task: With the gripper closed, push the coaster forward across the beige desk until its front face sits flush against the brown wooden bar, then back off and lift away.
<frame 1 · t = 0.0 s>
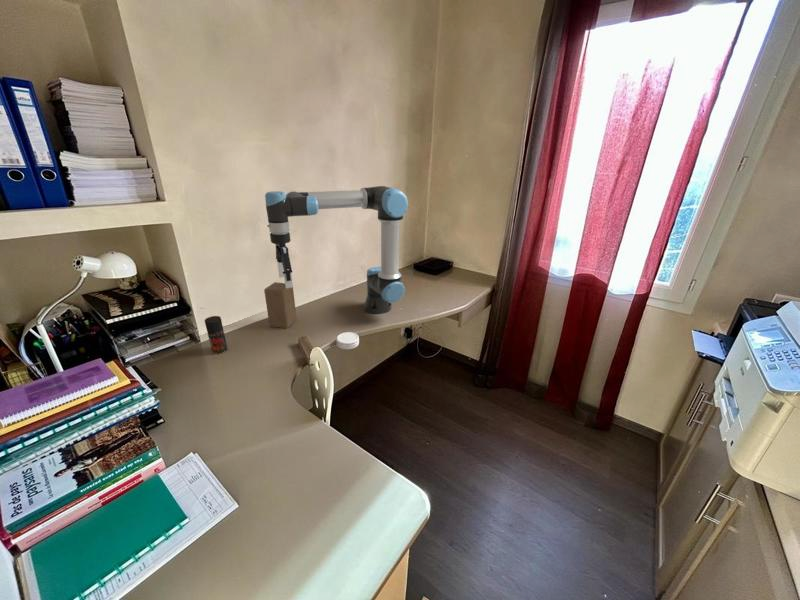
hand: (285, 282, 143), 28 cm above the table, fingers open, 13 cm apart
deodorant: (219, 350, 144), on the table
brown wooden bar: (308, 353, 144), on the table
coaster: (347, 344, 152), on the table
wooden block: (283, 323, 168), on the table
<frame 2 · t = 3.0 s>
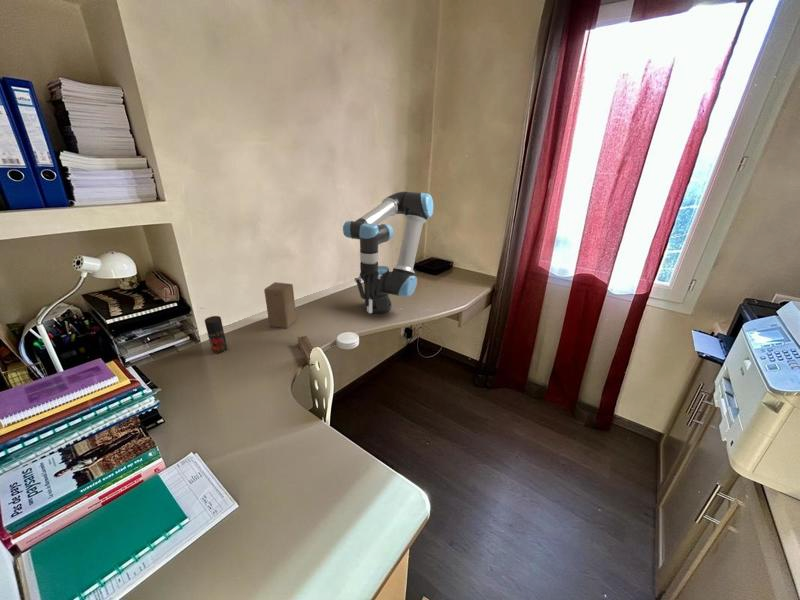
hand: (369, 311, 151), 14 cm above the table, fingers closed
nothing on the table moved.
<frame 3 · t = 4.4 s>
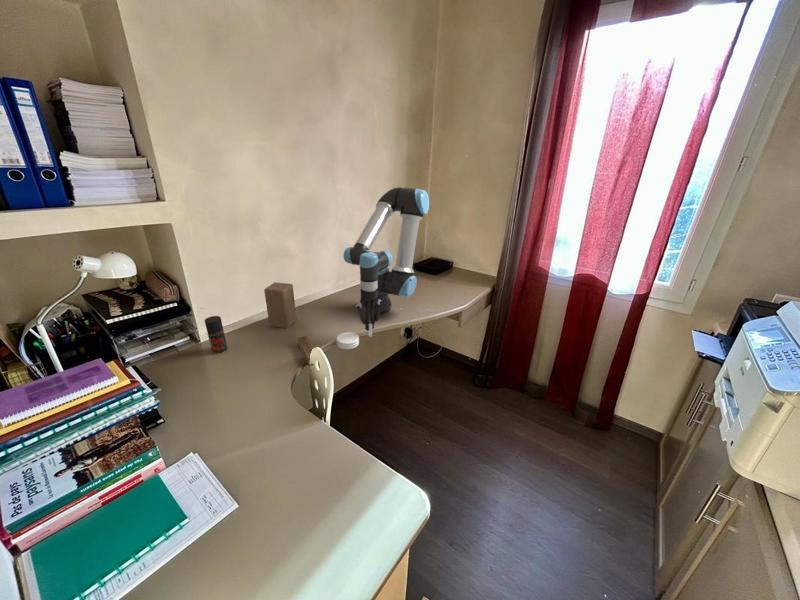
hand: (369, 335, 156), 1 cm above the table, fingers closed
nothing on the table moved.
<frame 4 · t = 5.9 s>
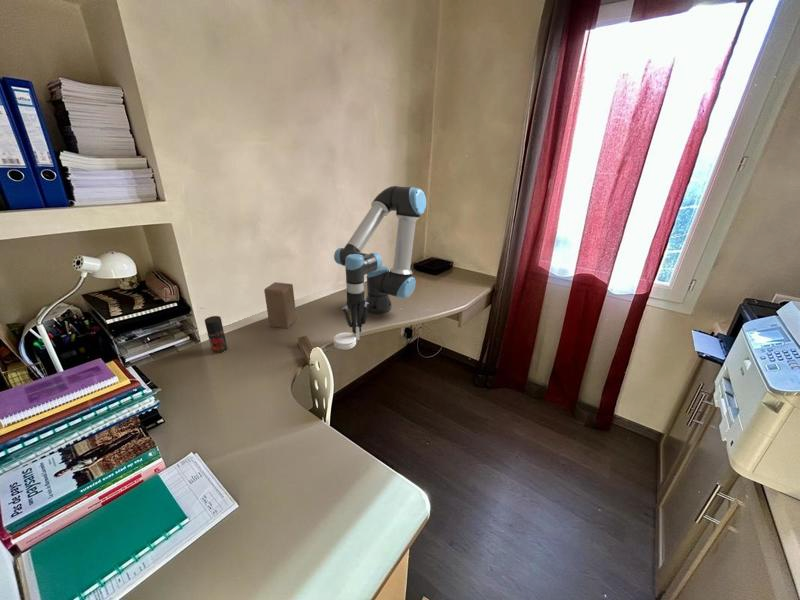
hand: (356, 338, 153), 2 cm above the table, fingers closed
coaster: (345, 344, 151), on the table, touching gripper
everything else where it was.
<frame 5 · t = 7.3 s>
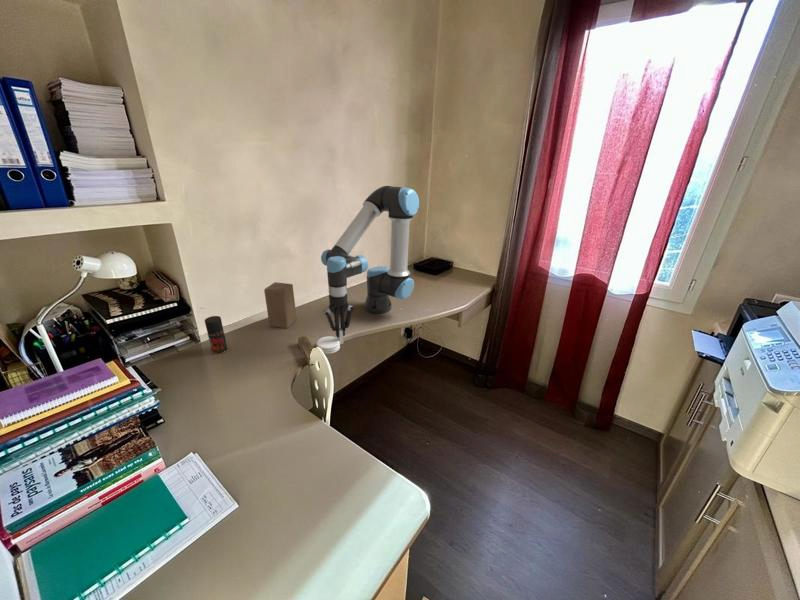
hand: (340, 342, 150), 1 cm above the table, fingers closed
coaster: (328, 348, 148), on the table, touching gripper
everything else where it was.
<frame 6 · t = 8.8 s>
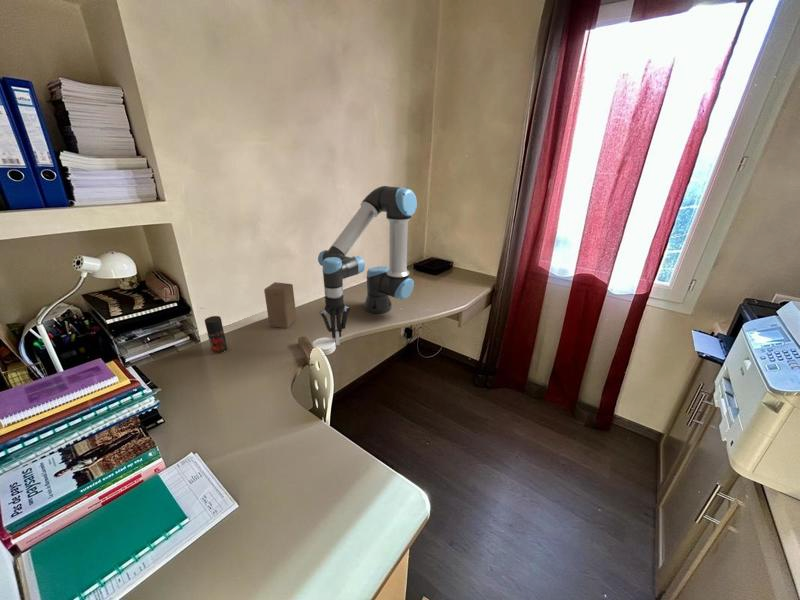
hand: (337, 343, 149), 1 cm above the table, fingers closed
coaster: (324, 350, 147), on the table
everything else where it was.
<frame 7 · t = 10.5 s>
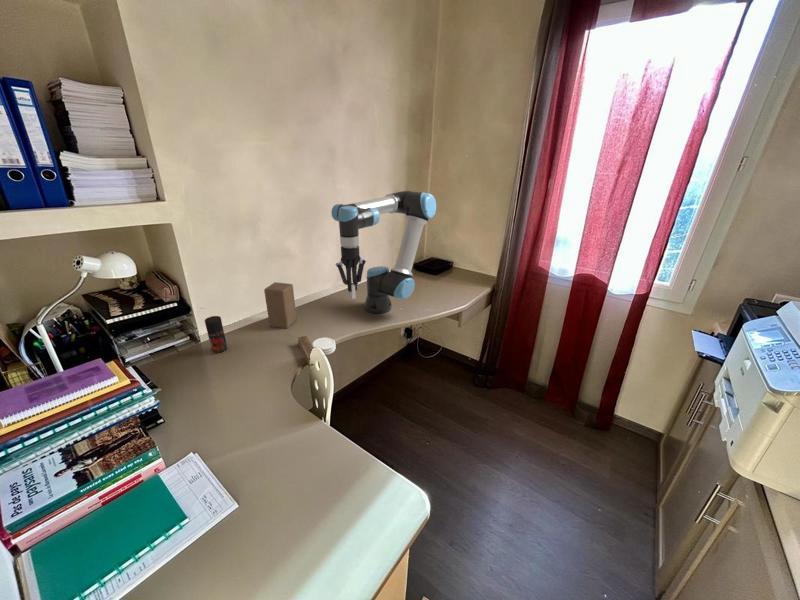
hand: (352, 297, 148), 21 cm above the table, fingers closed
nothing on the table moved.
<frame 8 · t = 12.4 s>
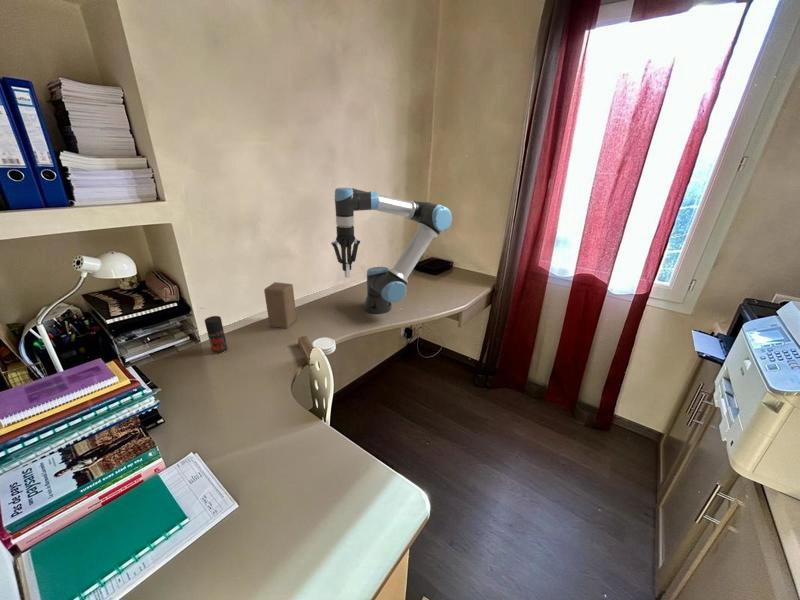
hand: (347, 276, 155), 26 cm above the table, fingers closed
nothing on the table moved.
at the end: coaster inside the target area on the table beside the brown wooden bar (0.3 cm from its centre), on the table; coaster tilted 0° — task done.
